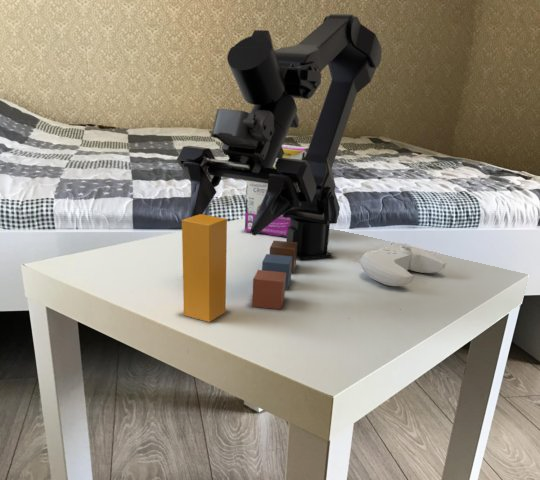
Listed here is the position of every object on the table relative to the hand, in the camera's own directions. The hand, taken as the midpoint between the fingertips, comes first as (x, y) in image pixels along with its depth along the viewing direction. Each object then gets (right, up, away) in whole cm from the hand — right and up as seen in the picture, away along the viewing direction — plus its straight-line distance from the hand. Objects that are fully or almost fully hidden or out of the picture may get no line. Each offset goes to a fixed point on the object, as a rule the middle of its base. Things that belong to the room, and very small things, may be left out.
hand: (221, 227), depth 74 cm
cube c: (+6, -9, +6) cm, 13 cm away
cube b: (+7, -6, +13) cm, 16 cm away
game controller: (+27, -4, +20) cm, 34 cm away
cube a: (+8, -2, +20) cm, 22 cm away
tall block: (-2, -11, +2) cm, 11 cm away
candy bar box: (+7, +8, +39) cm, 41 cm away
